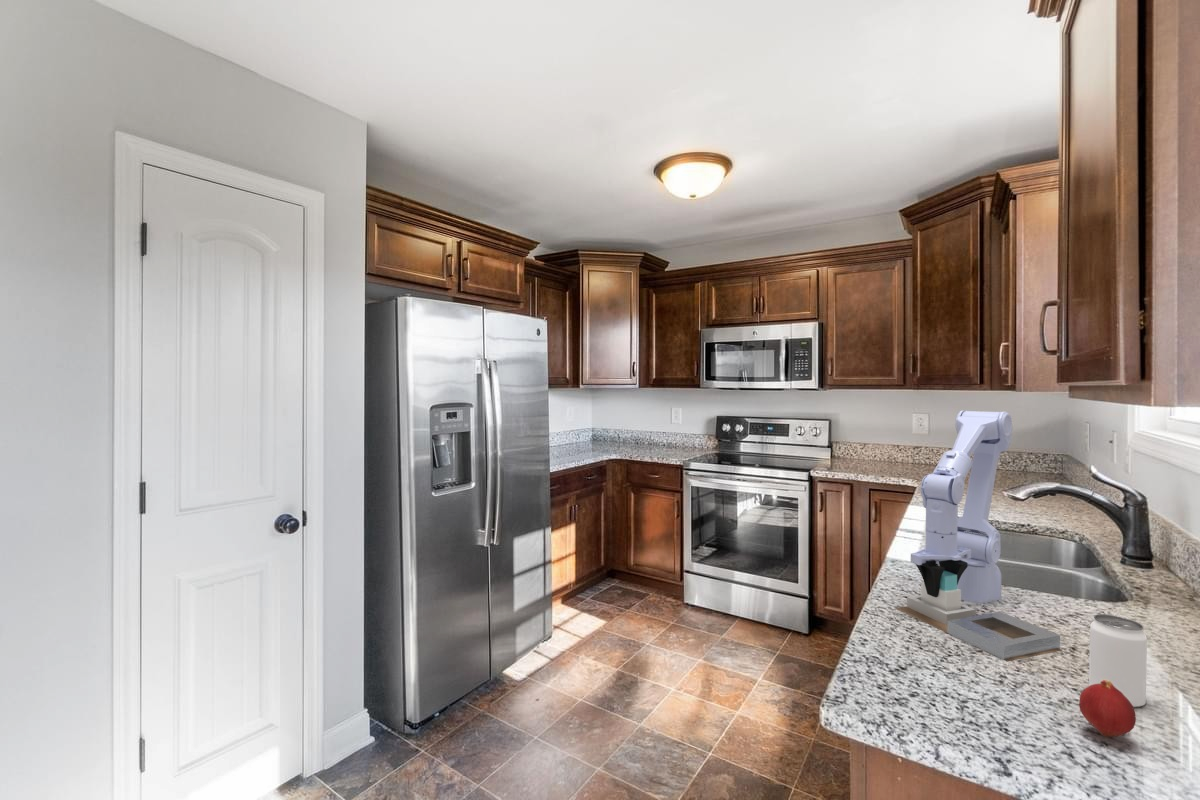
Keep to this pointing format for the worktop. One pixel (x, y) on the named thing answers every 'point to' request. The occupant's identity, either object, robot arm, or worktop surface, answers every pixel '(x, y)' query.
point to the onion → (1107, 709)
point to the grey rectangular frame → (938, 610)
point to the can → (1119, 656)
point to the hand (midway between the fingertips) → (940, 594)
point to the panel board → (944, 628)
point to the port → (983, 637)
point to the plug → (944, 593)
